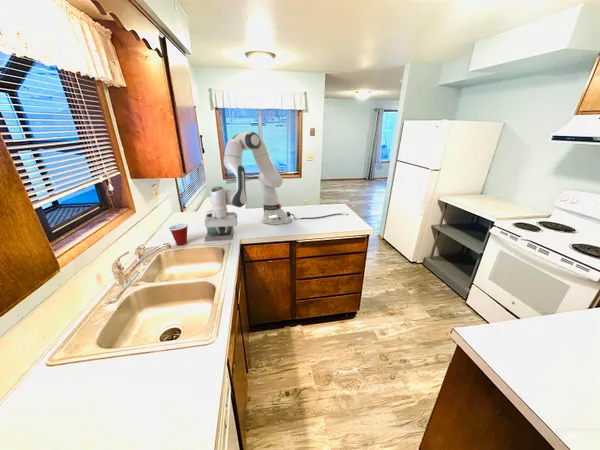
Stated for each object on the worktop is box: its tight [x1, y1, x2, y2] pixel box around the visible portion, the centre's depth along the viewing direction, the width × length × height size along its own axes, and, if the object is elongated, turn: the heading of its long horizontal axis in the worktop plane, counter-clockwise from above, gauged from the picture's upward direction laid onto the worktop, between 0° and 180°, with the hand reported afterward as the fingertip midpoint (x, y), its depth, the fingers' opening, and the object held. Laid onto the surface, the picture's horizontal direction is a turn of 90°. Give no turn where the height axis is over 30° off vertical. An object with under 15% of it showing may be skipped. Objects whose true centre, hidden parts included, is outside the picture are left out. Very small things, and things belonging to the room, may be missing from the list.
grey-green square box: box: [204, 226, 234, 242], centre depth 159 cm, size 16×16×12 cm
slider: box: [220, 227, 225, 235], centre depth 156 cm, size 2×3×4 cm
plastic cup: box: [168, 223, 189, 247], centre depth 147 cm, size 11×11×12 cm
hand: (222, 232), depth 156 cm, fingers closed on slider, 2 cm apart
